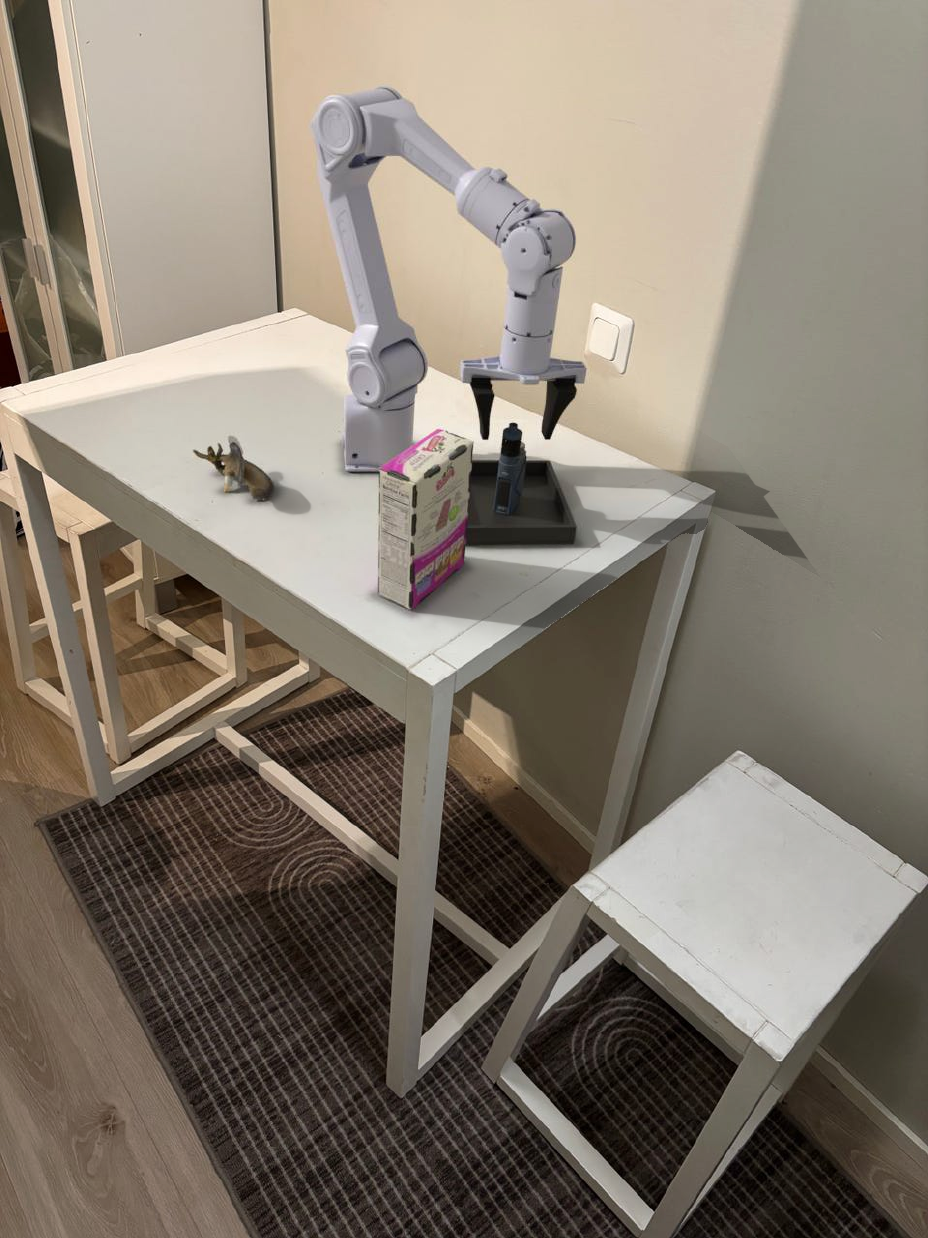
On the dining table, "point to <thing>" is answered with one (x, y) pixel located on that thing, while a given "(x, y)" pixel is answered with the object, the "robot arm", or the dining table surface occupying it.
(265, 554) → the dining table surface
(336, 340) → the dining table surface
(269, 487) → the antlered animal figurine
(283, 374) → the dining table surface
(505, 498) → the vaping device
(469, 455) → the candy bar box
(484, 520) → the tray
